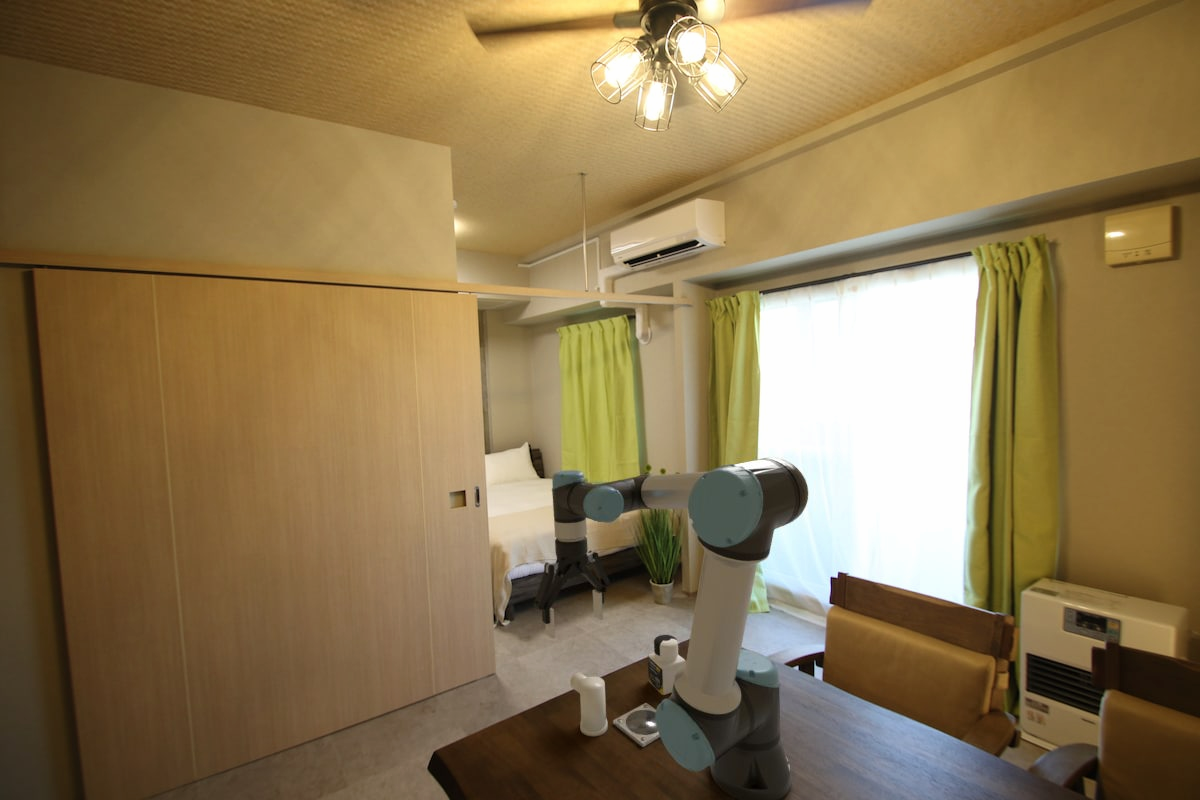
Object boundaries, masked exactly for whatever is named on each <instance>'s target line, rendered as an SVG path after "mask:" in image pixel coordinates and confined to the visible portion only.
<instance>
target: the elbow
mask: <svg viewBox="0 0 1200 800" xmlns="http://www.w3.org/2000/svg"><path fill="white" fill-rule="evenodd" d="M569 683H570V684H569V685H570V687H571V688H572V689H573V690H574V691H576V692H577V693H578V694H579V695H580V696H579V699H580V722H579V727H580V728H579V729H580V731H581V733H582V734H584V735H586V736H587V737H598V736H601V735H603V734H605V733H606V732H607V730H608V727H609V725H608V719H607V710H606V709H607V708H606V683H605V680H604V679H603V678H602V677H599V676H586V675H584V674H583V673H582V672H581V671H579V672H575V673H574V674H573V675H572V676H571V678H570V682H569Z"/></svg>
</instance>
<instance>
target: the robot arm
mask: <svg viewBox="0 0 1200 800" xmlns="http://www.w3.org/2000/svg"><path fill="white" fill-rule="evenodd" d="M585 480H586V479H585V475H584V473H583V472H582V471H581V470H577V469H576V470H574V469H573V470H572V469H571V470H561V471H556V472H555V473H553V475H552V489H551V492H552V493H551V494H552V495H551V496H552V507H553V508H552V509H553V510H552V511H553V520H554V521H553V522H554V523H553V524H554V526H553V527H554V537H555V538H556V539H554V549H555V556H556V560H555V563H550V562H546V563H545V564H544V566H543V575H542V579H541V581H540V584H539V587H538V590H537V593H536V596H535V599H534V601H533V607H535V608H536V609H538V610H540V611H541V618H542V619H541V620H542V623H543V624H545V635H546V636H548V637H549V638H551V639H552V640H553V639H556V630H555V629H556V627H555V626H556V625H555V611H554V610H555V609H554V608H553V604H554V603H555V601H556V599H557V598H558V595H559V593H560V591H561V590H562V587H563V586H564V584H566V583H567V581H568V580H572V579H574V578H575V577H577V578H578V577H581V575H582V576H583V577H584V578H585V579H586V580H587V581H588V582H589V583H590V584H591V585H592V586H593V588H595V589H593V590H592V604H593V607H592V609H593V617H594V618H595V619H597V620H599V621H603V620H604V614H603V605H604V603H605V593H607V590H608V588H610V586H611V585H612V584H611V582H610V580H609V578H608V575H607V573H606V571H605V570H604V567H603V566H602V564H601V561H600V558H599V553H598V552H597V551H593V550H589V551H588V538H587V537H586V536H587V535H588V532H587V531H588V527H587V519H589V520H592V521H594V522H597V523H613V522H615V521H617V519H618V518H619V517H620V516H621V515H622V514H626V513H629V512H635V511H638V510H687V511H688V517H689V519H691V521H692V523H691V527H692V529H693V530H694V531H695V534H696V535H697V537H696V538H697V542H698V544H699V545H700V547H702V549H703V550H704V552H703V558H702V564H701V569H700V576H699V582H698V586H697V587H698V588H697V593H696V594H697V595H696V598H695V599H696V600H695V604H694V605H695V606H694V611H693V617H692V624H691V631H690V636H689V642H688V649H687V654H686V659H685V661H686V665H684V666H682V667H680V668H679V669H678V671H677V672H676V675H675V678H674V684H673V690H672V693H670V694H671V695H670V696H669V697H668V698H664V699H662V701H661V703H659V704H658V705H657V706H656V708H655V709H656V714H655V718H656V726H657V729H658V732H659V735H660V737H659V738H660V739H661V742H662V744H663V745H664V748H665V749H666V750H667V752H668V753H669V754H670V756H671V757H672V758H673V759H674V760H675V761H676V763H677V764H679V766H681V767H683V768H684V769H686V770H687V771H691V772H700V771H703V770H705V769H706V768H708V767H710V773H711V777H712V779H713V781H714V783H715V784H716V785H717V786H718V787H719V788H720V790H722V791H723V792H724V793H725V794H726V795H728V796H730V797H732V798H734V799H736V800H782V798H785V796H786V795H787V794H788V792H789V791H790V789H791V785H792V769H791V765H790V762H789V759H788V757H787V756H786V753H785V749H784V746H783V745H784V744H783V742H782V739H781V709H780V708H781V707H780V706H781V705H780V704H781V703H780V698H781V697H780V687H781V683H780V677H779V669H778V667H777V665H776V664H775V662H774V661H773V660H772V659H770V658H769V657H767V656H766V655H764V654H762V653H759V652H757V651H753V650H750V649H743V648H742V645H743V641H744V634H745V629H746V625H747V620H748V613H749V610H750V603H751V598H752V593H753V588H754V582H755V577H756V572H757V567H758V564H759V563H760V562H763V561H765V560H767V559H768V558H769V555H770V551H771V546H772V542H773V538H774V532H775V530H776V529H779V528H781V527H782V528H783V527H784V526H787V525H788V524H791V523H793V522H794V521H796V520H797V519H798V518H799V517H800V516H801V515H802V514H803V512H804V511H805V508H806V506H807V503H808V501H809V488H808V486H809V485H808V483H807V480H806V478H805V476H804V474H803V473H802V472H801V470H799V468H798V467H797V466H795V465H794V464H793V463H791V462H790V461H787V460H786V459H785V460H784V459H782V458H778V457H763V458H758V459H755V460H752V461H751V460H750V461H746V462H741V463H737V464H732V463H731V464H725V465H721V466H719V467H717V468H715V469H711V470H709V471H697V472H696V471H695V472H683V473H670V474H669V473H668V474H640V475H637V476H633V477H628V478H624V479H617V480H612V481H608V482H607V481H605V482H602V483H594V484H593V483H587V482H586V481H585ZM588 563H590V565H591V567H592V569H593V571H594V573H595V574H596V576H597V577H596V576H595V575H594V574H593V573H592V572H591V570H590V569H589V568H588V567H587V564H588ZM597 578H598V579H597Z"/></svg>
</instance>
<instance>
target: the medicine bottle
mask: <svg viewBox="0 0 1200 800" xmlns="http://www.w3.org/2000/svg"><path fill="white" fill-rule="evenodd" d="M684 665H686V659H684V658H683V657H682V656H681V655H679V641H678V639H677V638H676V637H675V636H673V635H670V634H660V635H658V636H656V637H655V638H654V640H653V653H650V654H648V655H647V668H648V669H647V671H648V672H647V675H648V678H647V679H648V682H649V683H650V684H651V685H652V686H653V687H654V688H655V689H656V690H657V691H658V693H660V694H661V695H662V696H665V695H668V694H672V690H673V684H674V678H675V675H676V672H677V671H678V669H679V668H680V667H682V666H684Z"/></svg>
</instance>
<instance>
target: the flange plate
mask: <svg viewBox="0 0 1200 800" xmlns="http://www.w3.org/2000/svg"><path fill="white" fill-rule="evenodd" d="M656 709H657V708H654V707H653V706H652V705H650V704H649V703H647V702H645V703H643V704H640V705H638V706H637V707H636V708H633V709H631V710H630V711H628V712H626V713H624V714H622V715H620V716H619V717H616V718H615V719H613V720H612V722H613V725H614V726H615V727H617V729H619V730H620V731H622V732H623V733H624V734H626V735H627V736H628V737H629V738H630V739H632V740H633V741H634V742H635V743H636V744H638V745H639V746H640V747H642V748H644V747H647V745H649V744H651V743H652V742H655V741H656V740H658V739H659V738H661V737H660V735H659V732H658V729H657V726H656V718H655V714H656Z"/></svg>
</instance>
